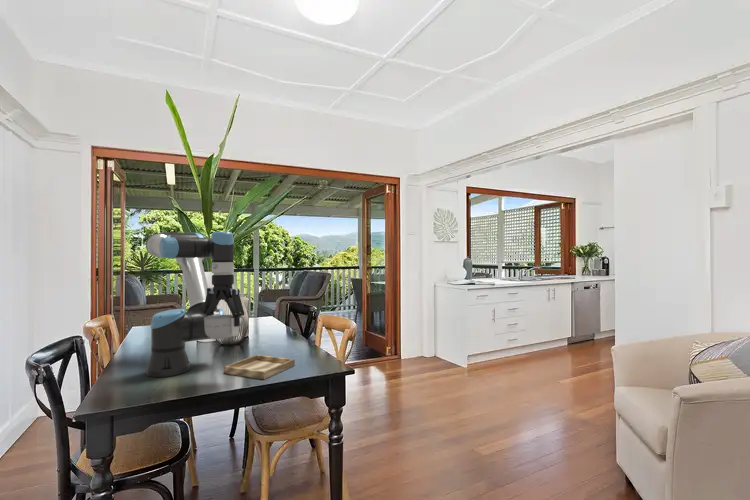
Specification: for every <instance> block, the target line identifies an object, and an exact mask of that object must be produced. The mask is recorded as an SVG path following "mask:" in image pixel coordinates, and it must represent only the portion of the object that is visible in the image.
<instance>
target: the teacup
mask: <svg viewBox="0 0 750 500" xmlns="http://www.w3.org/2000/svg"><path fill="white" fill-rule="evenodd" d="M232 317H233V315H232V314H224V315H214V316H208V317H204V326H205V333H206V335H207V336H209V337H210V338H211V339H210V340H221V339H227V338H230V337H232V336H231V318H232ZM240 318H241V322H240V325H239V329H240V328H241V327H242V326H243V325H245V322H246V318H245V316H244V315H242V316H240Z"/></svg>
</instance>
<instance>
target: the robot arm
mask: <svg viewBox="0 0 750 500" xmlns="http://www.w3.org/2000/svg"><path fill="white" fill-rule="evenodd" d="M234 244H235V240H234V234H233V233H232V231H214V232H212V233H211V237H205V236H203V234H201V233H199V232H192V231H191V232H172V231H171V232H170V231H163V232H157V233H154V234H152V235H150V236H148V238H147V239H146V241H145V250H146V251H147V253H149V254H150V255H152V256H154V257H157V258H162V259H176V260H175V261H176V262H177V264H178V265H180V266H181V269H182V274H183V275H182V277H183V281H184V283H185V289H186V294H187V299H188V300H187V301H188V304H189V307H188V308H187V310H186V309H184V308H176V309H175V308H174V309H167V310H164V311H163V310H162V311H160V312H157V313H155V314H154V315H152V318H151V322H150V323H151V324H150V329H151V333H150V334H151V335H150V339H151V340H150V342H151V344H150V345H151V348H150V350H151V351H150V356H149V359H148V362H147V365H146V368H145V375H146V376H148V377H153V378H164V377H165V378H166V377H171V376H178V375H181V374H184V373H187V372H189V371H190V369H191V362H190V360H189V356H188V354H187V351H186V343H187V342H195V341H203V340H212V339H211V338H210V337H209V336H207V335H206V333H205V326H204V317H208V316H214V315H225V311H224V309H222V308H219V309H218V305H219V304H220V303H219V302H220V301H221V300H222V301H223V302H225V304H226V305H227V306H228V308H229V310H230V314H231V315H233V317H232V318H231V336H230V337H235V336H238V335H239V332H240V331H239V329H240V328H239V325H240V324H241V322H240V321H241V320H240V316H244V315H245V311H244V306H243V303H242V299H241V296H240V288H233V285H234V283H235V278H234V277H235V275H234V273H235V272H234V271H235V268H234V262H235V261H234V258H235V256H234V255H235V254H234V252H235V249H234V248H235V247H234V246H235V245H234ZM207 258H208V259H211V273H212V275H211V284H212V287H209V285H208V282H207V281H208V280H207V277H206V273H205V268H204V264H203V260H204V259H207Z"/></svg>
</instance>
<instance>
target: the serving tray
mask: <svg viewBox="0 0 750 500" xmlns="http://www.w3.org/2000/svg"><path fill="white" fill-rule="evenodd" d="M295 362H296V361H295V359H294V358H286V357H285V358H284V357H278V356H270V355H264V354H263V355H262V354H255V355H252V356H250V357H247V358H244V359H241V360H239V361H236V362H233V363H230V364H227V365H225V366H223V373H224V374H226V375H227V374H228V375H233V376H241V377H245V378H251V379H260V380H266V379H268V378H271V377H273V376H275V375H277V374H279V373H281V372H283V371H286V370H288V369H290V368H293V367H294V366H295Z"/></svg>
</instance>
